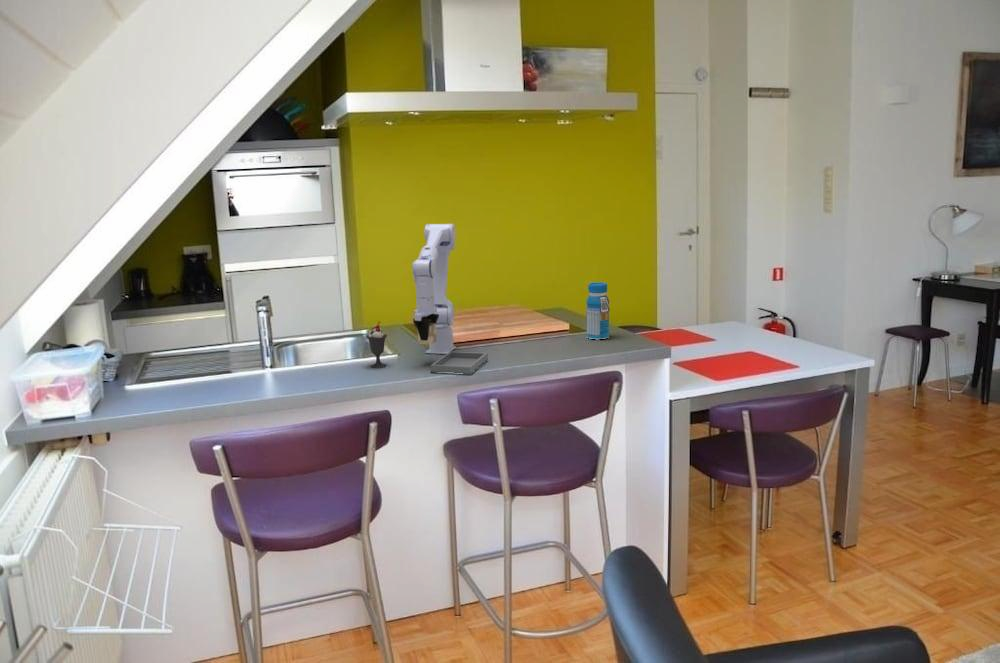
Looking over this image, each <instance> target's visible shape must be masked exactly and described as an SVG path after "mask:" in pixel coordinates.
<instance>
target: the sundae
mask: <svg viewBox="0 0 1000 663" xmlns="http://www.w3.org/2000/svg"><path fill="white" fill-rule="evenodd" d="M380 323H381V321H378V323H377V325H376V326H374V327H371V329H370V333H369V334H366V335H365V337H366V338H367V339H368V343H369V346H370V347H369V348H370V351H371V353H372V354H373V355H374V356H375V359H376V360H375V363H374V364H371V365H370V367H371V368H374V369H380V368H379V367H381V368H385V367H386V366H387V364H386V363H383V362H381V359H380V358H381V355H382V354H383V353H384V351H385V341H386V337H388V335H387V334H386V333H384V332H383V330H382V328H381V326H380V325H379V324H380ZM384 366H385V367H384Z"/></svg>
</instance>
